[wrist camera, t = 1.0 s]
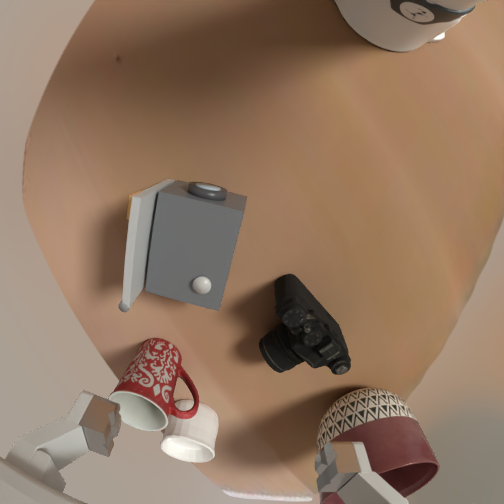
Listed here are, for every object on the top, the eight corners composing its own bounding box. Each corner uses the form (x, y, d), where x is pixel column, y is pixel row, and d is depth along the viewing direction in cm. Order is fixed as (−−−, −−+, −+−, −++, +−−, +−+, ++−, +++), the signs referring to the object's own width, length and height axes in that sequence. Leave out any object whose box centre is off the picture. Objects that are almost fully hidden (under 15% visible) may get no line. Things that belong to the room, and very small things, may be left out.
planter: (378, 348, 46) (422, 448, 26) (414, 395, 51) (449, 474, 31) (287, 403, 51) (295, 503, 31) (338, 438, 56) (353, 518, 36)
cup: (165, 395, 51) (153, 434, 42) (216, 399, 51) (210, 440, 42) (175, 423, 55) (166, 459, 46) (221, 427, 55) (217, 465, 45)
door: (162, 177, 37) (125, 194, 26) (174, 180, 37) (141, 198, 26) (149, 266, 41) (116, 309, 30) (159, 269, 41) (129, 313, 30)
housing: (179, 172, 37) (158, 182, 29) (249, 189, 37) (246, 203, 29) (163, 264, 41) (143, 293, 33) (225, 280, 42) (218, 313, 34)
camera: (235, 306, 44) (230, 350, 34) (295, 264, 41) (305, 302, 32) (291, 361, 47) (296, 407, 38) (345, 328, 45) (362, 370, 35)
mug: (134, 364, 49) (109, 419, 36) (137, 326, 45) (105, 383, 33) (202, 384, 50) (189, 444, 37) (211, 348, 46) (198, 412, 34)
